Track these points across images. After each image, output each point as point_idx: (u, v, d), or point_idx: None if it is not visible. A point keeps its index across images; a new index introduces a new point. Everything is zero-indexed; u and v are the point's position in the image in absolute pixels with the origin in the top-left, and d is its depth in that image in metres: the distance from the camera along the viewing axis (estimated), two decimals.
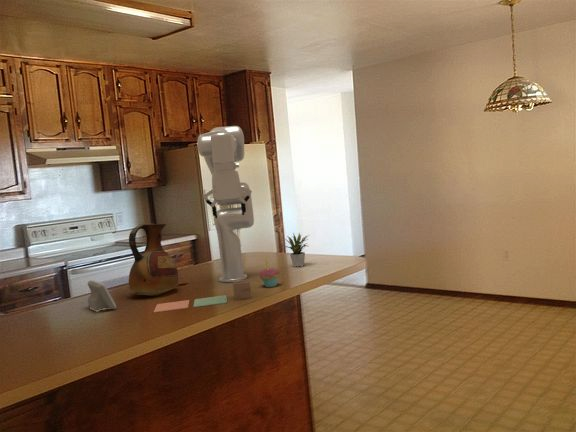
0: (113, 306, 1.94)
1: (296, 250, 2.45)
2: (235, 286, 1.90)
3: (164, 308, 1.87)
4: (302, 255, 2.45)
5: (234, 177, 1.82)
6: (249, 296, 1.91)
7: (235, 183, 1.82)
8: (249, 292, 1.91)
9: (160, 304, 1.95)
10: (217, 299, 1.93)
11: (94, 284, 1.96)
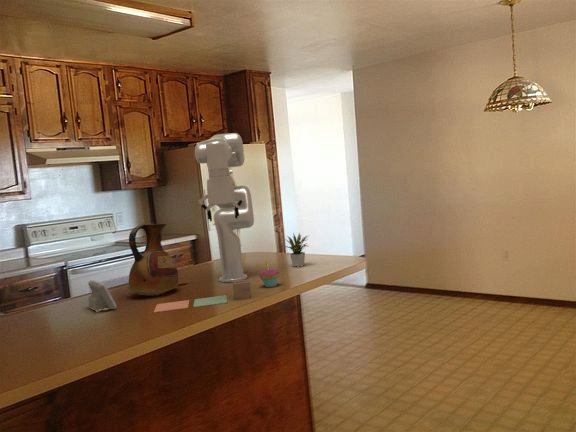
0: (113, 306, 1.94)
1: (296, 250, 2.45)
2: (235, 286, 1.90)
3: (164, 308, 1.87)
4: (302, 255, 2.45)
5: (228, 183, 1.94)
6: (249, 296, 1.91)
7: (229, 188, 1.94)
8: (249, 292, 1.91)
9: (160, 304, 1.95)
10: (217, 299, 1.93)
11: (94, 284, 1.96)
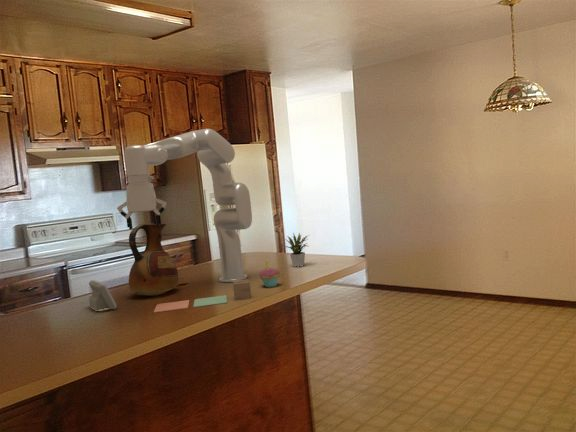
0: (114, 306, 1.94)
1: (296, 250, 2.45)
2: (235, 286, 1.90)
3: (164, 308, 1.87)
4: (302, 255, 2.45)
5: (148, 189, 1.85)
6: (249, 296, 1.91)
7: (149, 195, 1.85)
8: (249, 292, 1.91)
9: (160, 304, 1.95)
10: (217, 299, 1.93)
11: (95, 284, 1.96)
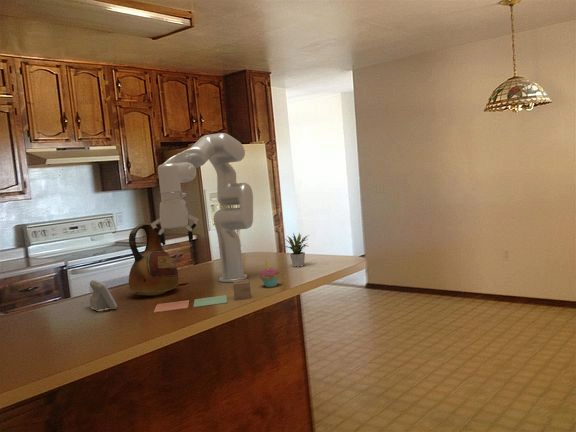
0: (114, 306, 1.94)
1: (296, 250, 2.45)
2: (235, 286, 1.90)
3: (164, 308, 1.87)
4: (302, 255, 2.45)
5: (180, 206, 1.89)
6: (249, 296, 1.91)
7: (182, 211, 1.89)
8: (249, 292, 1.91)
9: (160, 304, 1.95)
10: (217, 299, 1.93)
11: (95, 284, 1.96)
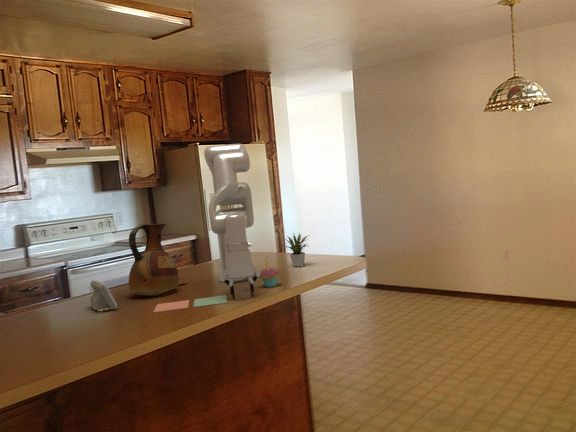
0: (114, 306, 1.94)
1: (296, 250, 2.45)
2: (235, 286, 1.90)
3: (164, 308, 1.87)
4: (302, 255, 2.45)
5: (246, 257, 1.91)
6: (249, 296, 1.91)
7: (248, 262, 1.91)
8: (249, 292, 1.91)
9: (160, 304, 1.95)
10: (217, 299, 1.93)
11: (96, 284, 1.96)
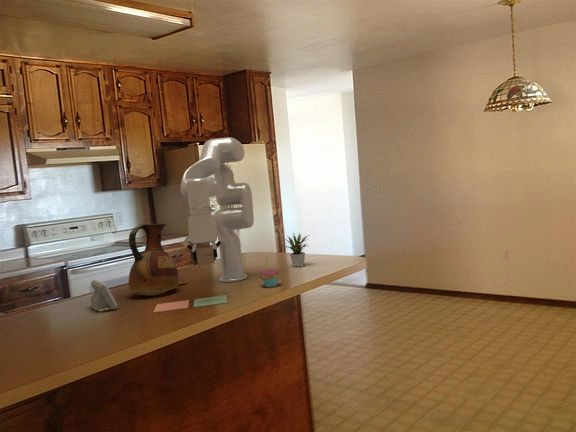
0: (114, 306, 1.94)
1: (296, 250, 2.45)
2: (198, 251, 1.88)
3: (164, 308, 1.87)
4: (302, 255, 2.45)
5: (209, 221, 1.88)
6: (212, 261, 1.88)
7: (211, 226, 1.88)
8: (212, 257, 1.88)
9: (160, 304, 1.95)
10: (217, 299, 1.93)
11: (96, 284, 1.96)
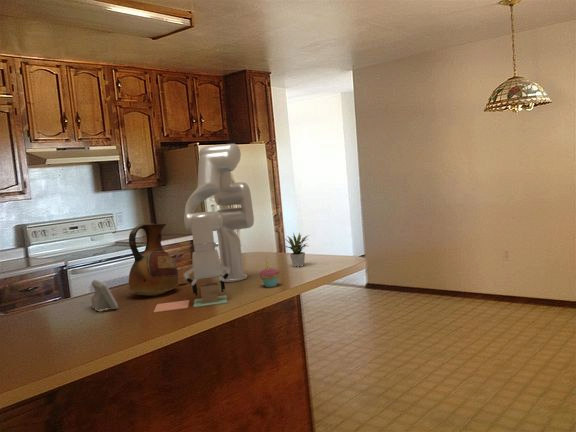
0: (115, 306, 1.94)
1: (296, 250, 2.45)
2: (202, 289, 1.89)
3: (164, 308, 1.87)
4: (302, 255, 2.45)
5: (213, 257, 1.89)
6: (216, 299, 1.90)
7: (215, 262, 1.89)
8: (216, 295, 1.90)
9: (160, 304, 1.95)
10: None
11: (97, 284, 1.96)
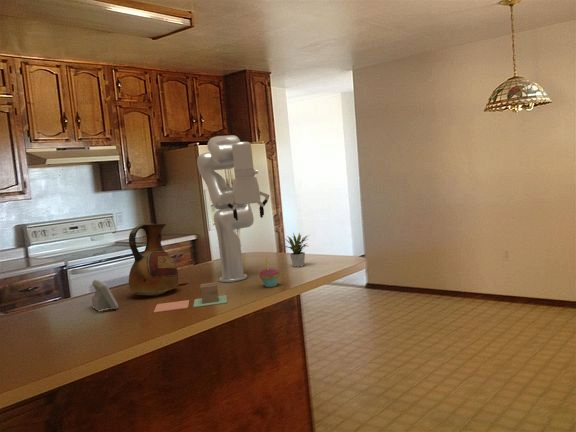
0: (115, 306, 1.93)
1: (296, 250, 2.45)
2: (202, 289, 1.89)
3: (164, 308, 1.87)
4: (302, 255, 2.45)
5: (253, 183, 1.98)
6: (216, 299, 1.90)
7: (255, 188, 1.98)
8: (216, 295, 1.90)
9: (160, 304, 1.95)
10: None
11: (97, 284, 1.96)
